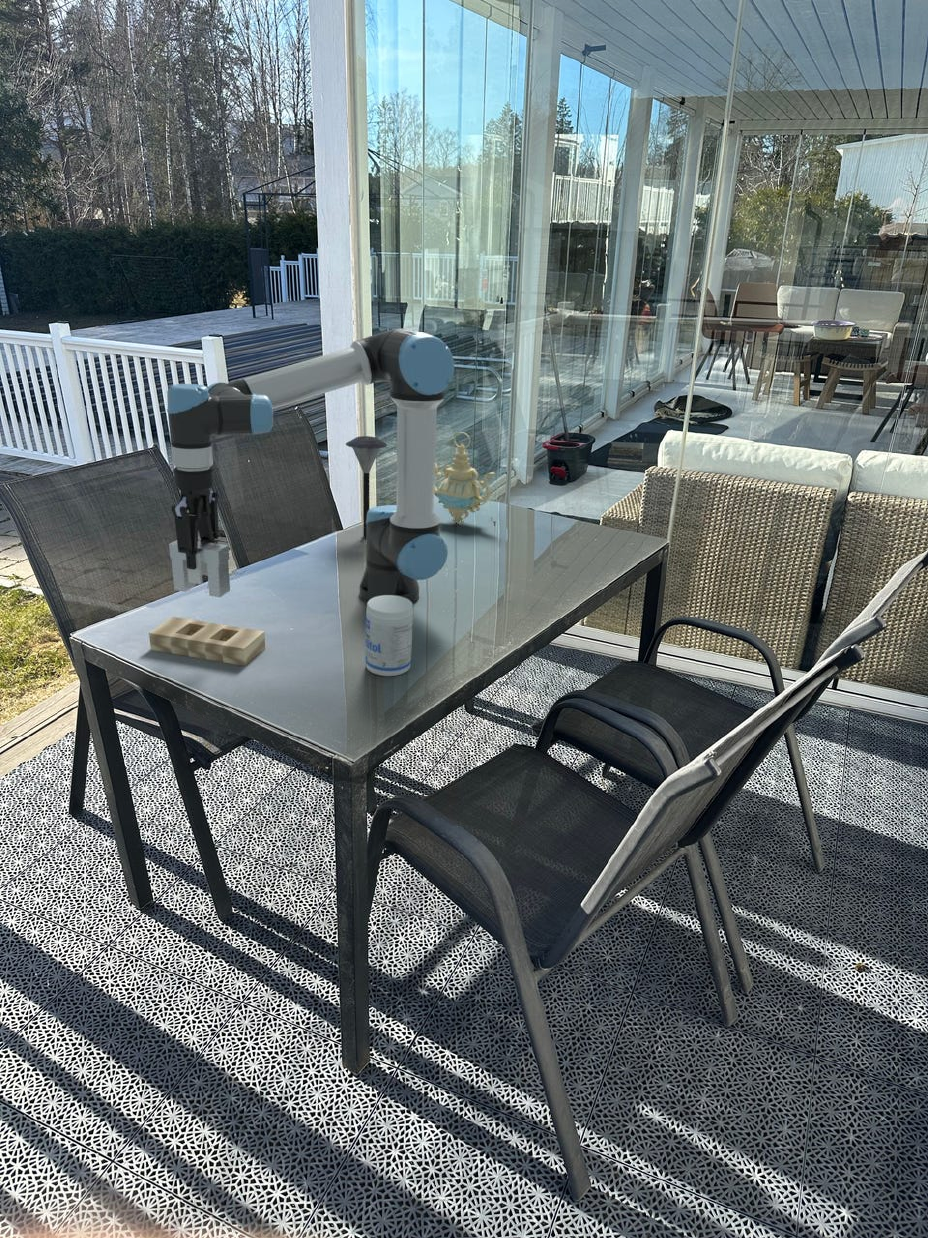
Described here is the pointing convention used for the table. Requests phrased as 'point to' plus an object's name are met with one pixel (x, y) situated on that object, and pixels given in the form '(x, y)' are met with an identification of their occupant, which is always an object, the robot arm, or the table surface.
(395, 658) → the supplement tub
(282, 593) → the table surface
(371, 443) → the solar garden light
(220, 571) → the grey u-shaped block
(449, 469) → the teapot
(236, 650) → the wooden block with holes
